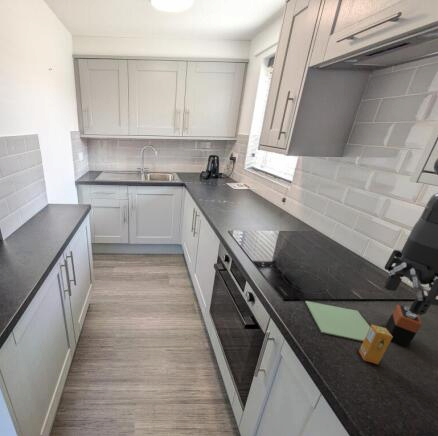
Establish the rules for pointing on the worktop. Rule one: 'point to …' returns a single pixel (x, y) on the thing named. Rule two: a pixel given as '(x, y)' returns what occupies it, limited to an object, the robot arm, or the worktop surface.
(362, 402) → the worktop surface
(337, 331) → the sticky note pad
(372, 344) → the supplement box
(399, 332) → the battery
